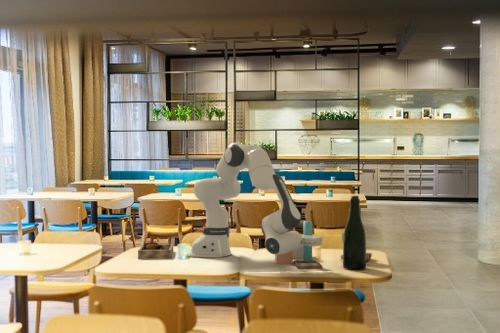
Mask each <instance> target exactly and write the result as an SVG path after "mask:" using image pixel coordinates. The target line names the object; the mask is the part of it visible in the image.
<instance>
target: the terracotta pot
mask: <svg viewBox="0 0 500 333" xmlns="http://www.w3.org/2000/svg"><path fill="white" fill-rule="evenodd" d="M274 261H275V264H278V265H281V264H282V265H286V264H287V265H288V264H291V265H292V264H294V259H293V252H288V253H285V254H279V255H275V254H274Z"/></svg>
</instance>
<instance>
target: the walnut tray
mask: <svg viewBox="0 0 500 333" xmlns="http://www.w3.org/2000/svg"><path fill="white" fill-rule="evenodd" d="M293 264H294V266H295V268H296V269H297V270H308V269H309V270H318V269H319V270H322V269H323V265H322V263H320V262H319V261H318V259H312V261H311V262H305V261H303V259H297V260H296V259H293Z"/></svg>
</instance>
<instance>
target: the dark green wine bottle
mask: <svg viewBox="0 0 500 333" xmlns="http://www.w3.org/2000/svg"><path fill="white" fill-rule="evenodd" d="M360 203H361V200H360V198H359V195H351V197H350V199H349V216H348V219H347V223H346V224H345V226H344V230H343V232H344V239H343V241H342V255H343V259H342V267H343V268H344V269H345V270H349V271H362V270H365V269H366V268H367V261H366V253H367V234H366V233H367V232H366V229H365V226H364V223H363V221H362V217H361V211H360V210H361V208H360V206H361V205H360Z"/></svg>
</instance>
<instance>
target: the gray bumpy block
mask: <svg viewBox="0 0 500 333" xmlns="http://www.w3.org/2000/svg"><path fill="white" fill-rule="evenodd" d="M296 259H297V260H303V245H302V247H301V248H300V249H299V250H297V251H293V260H296Z"/></svg>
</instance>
